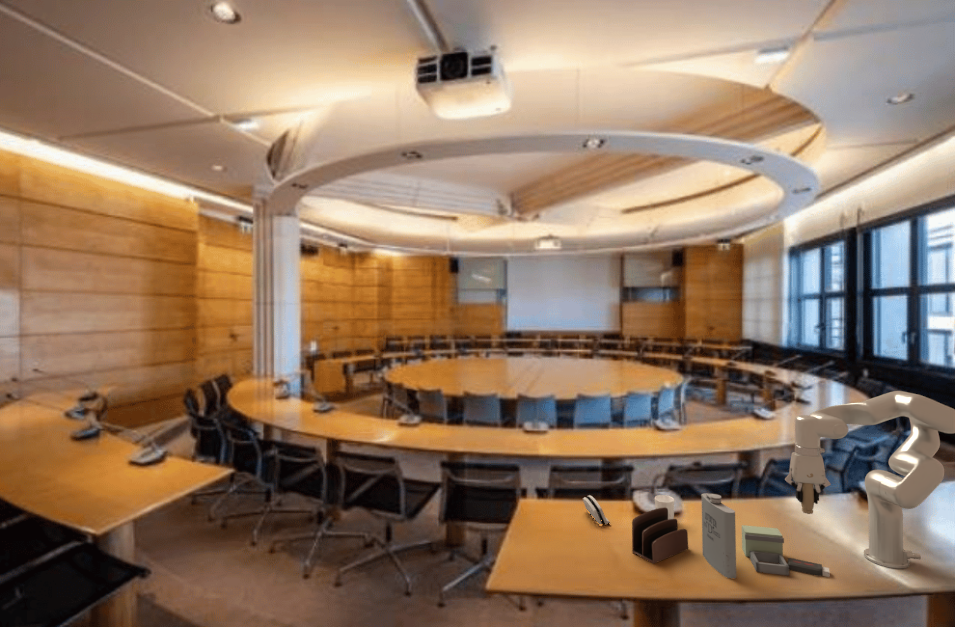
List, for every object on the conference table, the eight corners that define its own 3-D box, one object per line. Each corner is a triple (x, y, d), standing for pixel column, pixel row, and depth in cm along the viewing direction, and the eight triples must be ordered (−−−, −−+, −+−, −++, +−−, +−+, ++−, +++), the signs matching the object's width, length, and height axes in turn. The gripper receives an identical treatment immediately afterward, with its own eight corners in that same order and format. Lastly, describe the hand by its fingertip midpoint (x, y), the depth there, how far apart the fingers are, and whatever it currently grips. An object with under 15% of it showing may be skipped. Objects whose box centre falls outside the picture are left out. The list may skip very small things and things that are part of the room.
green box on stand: (778, 552, 183) (778, 528, 183) (793, 576, 167) (792, 549, 167) (741, 548, 187) (741, 525, 187) (752, 571, 171) (752, 545, 171)
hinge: (611, 525, 209) (603, 504, 208) (601, 530, 208) (593, 508, 208) (597, 509, 225) (589, 489, 225) (587, 514, 225) (580, 494, 224)
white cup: (676, 520, 212) (676, 497, 212) (672, 527, 206) (672, 503, 206) (657, 516, 217) (657, 493, 217) (653, 523, 210) (652, 500, 210)
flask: (698, 553, 184) (697, 486, 184) (710, 552, 184) (709, 486, 184) (725, 579, 166) (723, 505, 166) (738, 578, 167) (736, 504, 166)
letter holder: (631, 553, 186) (631, 516, 186) (666, 539, 196) (666, 504, 196) (653, 564, 177) (652, 525, 177) (688, 549, 187) (688, 512, 187)
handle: (795, 508, 180) (795, 467, 180) (815, 511, 178) (815, 469, 178) (798, 514, 175) (798, 472, 175) (820, 516, 173) (820, 474, 173)
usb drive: (787, 563, 176) (787, 555, 176) (828, 572, 170) (828, 564, 170) (787, 570, 172) (787, 562, 172) (829, 579, 165) (829, 571, 165)
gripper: (830, 449, 177) (830, 500, 178) (777, 446, 182) (777, 495, 182) (839, 455, 170) (839, 508, 170) (783, 452, 175) (784, 503, 175)
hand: (807, 501), depth 176 cm, fingers closed on handle, 4 cm apart
